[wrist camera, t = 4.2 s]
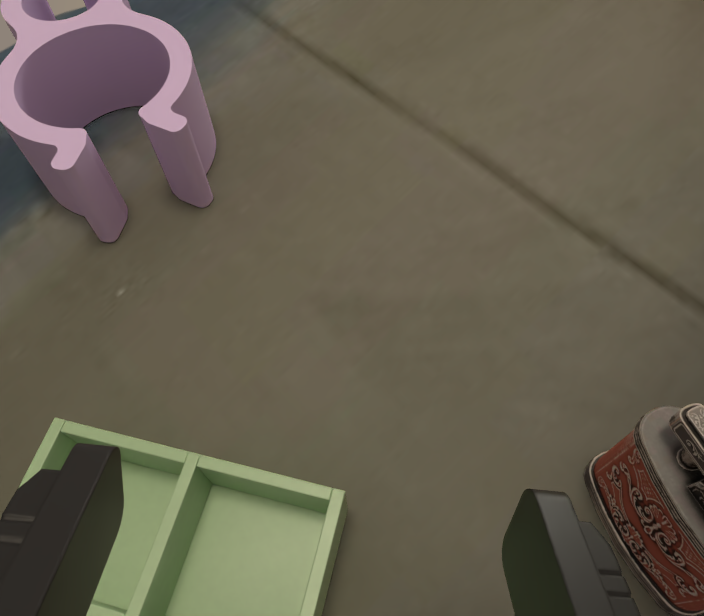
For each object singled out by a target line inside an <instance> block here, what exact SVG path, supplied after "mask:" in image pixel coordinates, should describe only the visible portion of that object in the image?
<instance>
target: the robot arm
mask: <svg viewBox="0 0 704 616" xmlns="http://www.w3.org/2000/svg"><path fill="white" fill-rule="evenodd" d="M123 509H124V492H123V479H122V466H121V454H120V449H119V448H118V447H114V446H104V445H94V444H84V443H77V444H76V445H75V446H74V447H73V448H72V450H71V452H70V453H69V455H68V457H67V459H66V461H65V463H64V465H63V466H62V468H61V470H50V469H41V470H40V471H39V472H37V473H36V474H35V475H34V476H33V477H31V478H30V479H29V480H28V481H27V482H25V483H24V484H23V485H22V486H21V487H20V488H18V489H17V491H16V492H15V494H14V496H13V497H12V499H11V501H10V502H9V504H8V506H7V507H6V509H5V511H4V512H3V514H2V518H1V520H0V616H86V615H87V612H88V609H89V607H90V604H91V602H92V599H93V597H94V594H95V591H96V589H97V586H98V584H99V581H100V578H101V576H102V573H103V571H104V568H105V566H106V563H107V560H108V558H109V555H110V553H111V550H112V547H113V545H114V542H115V540H116V537H117V534H118V532H119V528H120V525H121V521H122V516H123ZM502 561H503V568H504V572H505V576H506V580H507V584H508V588H509V592H510V596H511V600H512V605H513V609H514V613H515V616H641V615H640V612H639V610H638V608H637V606H636V603H635V601H634V599H633V598H631V592H630V589H629V587H628V585H627V583H626V580H625V578H624V577H622V575H621V572H622V571H621V569H620V566H619V564H618V562H617V559H616V557H615V555H614V553H613V550H612V548H611V546H610V544H609V543H608V542H607V541H606V540H605V539H604V537H603V536H602V535H601V534H600V533H599V531H598V530H597V529H596V528H595V527H594V526H593V524H592V523H591V522H583V521H579V520H578V518H577V515H576V513H575V510H574V508H573V505H572V503H571V500H570V498H569V497H568V495H567V494H566V493H564V492H556V491H546V490H536V489H526V490H525V491H524V492H523V494H522V496H521V499H520V501H519V503H518V506H517V508H516V510H515V513H514V515H513V517H512V520H511V522H510V524H509V527H508V529H507V531H506V534H505V536H504V540H503V547H502Z"/></svg>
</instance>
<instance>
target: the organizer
mask: <svg viewBox="0 0 704 616" xmlns="http://www.w3.org/2000/svg"><path fill="white" fill-rule="evenodd" d="M77 443H84V444H94V445H104V446H114V447H118V448H119V449H120V454H121V466H122V479H123V492H124V509H123V516H122V521H121V525H120V528H119V532H118V534H117V537H116V540H115V542H114V545H113V547H112V550H111V553H110V555H109V558H108V560H107V563H106V566H105V568H104V571H103V573H102V576H101V578H100V581H99V584H98V586H97V589H96V591H95V594H94V597H93V599H92V602H91V604H90V607H89V609H88V612H87V615H86V616H322V612H323V608H324V604H325V600H326V596H327V592H328V588H329V584H330V580H331V576H332V572H333V568H334V564H335V560H336V556H337V552H338V548H339V544H340V539H341V535H342V531H343V527H344V523H345V519H346V515H347V511H348V508H347V501H346V494H345V491H343V490H339V489H335V488H333V489H332V488H331V487H327V486H323V485H319V484H315V483H311V482H307V481H303V480H299V479H295V478H291V477H288V476H284V475H280V474H276V473H272V472H268V471H264V470H260V469H256V468H252V467H248V466H244V465H240V464H236V463H232V462H228V461H224V460H221V459H217V458H213V457H209V456H205V455H200V454H197V453H193V452H188V451H185V450H181V449H177V448H173V447H169V446H165V445H161V444H157V443H153V442H149V441H145V440H142V439H138V438H134V437H130V436H126V435H122V434H118V433H114V432H110V431H106V430H102V429H98V428H94V427H90V426H86V425H82V424H78V423H75V422H71V421H66V420H63V419H59V418H54V420H53V422H52V424H51V426H50V428H49V430H48V432H47V434H46V436H45V437H44V439H43V441H42V443H41V445H40V447H39V449H38V451H37V453H36V455H35V457H34V459H33V461H32V463H31V465H30V467H29V468H28V470H27V472H26V474H25V476H24V478H23V480H22V482H21V484H20V486H19V488H20V487H21V486H22V485H23V484H24V483H25V482H27V481H28V480H29V479H30V478H31V477H33V476H34V475H35V474H36V473H37V472H39V471H40V470H41V469H50V470H61V468H62V466H63V465H64V463H65V461H66V459H67V457H68V455H69V453H70V452H71V450H72V448H73V447H74V446H75V445H76V444H77Z"/></svg>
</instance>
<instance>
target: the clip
mask: <svg viewBox="0 0 704 616" xmlns="http://www.w3.org/2000/svg"><path fill="white" fill-rule="evenodd" d="M83 1H84V3H85V5H86V7H87V11H86V12H84V13H82V14H80V15H78V16H75V17H72V18H69V19H65V20H58V21H57V20H56V18H55V16H54V14H53V12H52V10H51V8H50V6H49V4H48V2H47V0H2V2H1V13H2V16H3V18H4V19H5V21H6V23H7V25H8V26H9V28H10V30H11V32H12V33H13V35H14V37H15V39H16V40H17V42H16V45H15V47H14V49H13V50H12V51H11V53H10V54H9V55H8V56H7V57H6V58H5V60H4V61H3V62H2V64H1V65H0V121H1V123H2V124H3V125H4V127H5V128H6V130H7V131H8V133H9V134H10V136H11V137H12V138H13V140H14V141H15V143H16V144H17V146H18V147H19V148H20V150H21V151H22V153H23V154H24V156H25V157H26V159H27V160H28V161H29V163H30V164H31V166H32V167H33V169H34V170H35V172H36V173H37V174H38V176H39V177H40V179H41V180H42V182H43V183H44V184H45V186H46V187H47V189H48V190H49V192H50V193H51V195H52V196H53V197H54V198H55V199H56V200H57V201H58V202H59V203H60V204H61V205H62V206H64V207H65V208H67V209H68V210H70V211H72V212H74V213H76V214H79V215H82V216H85V218H86V219H87V221H88V223H89V224H90V226H91V227H92V229H93V230H94V232H95V233H96V235H97V236H98V238H99V239H100V240H101V241H103V242H109V243H110V242H114V241H115V240H117V239H118V237H119V235H120V233H121V231H122V229H123V227H124V225H125V223H126V221H127V216H128V208H127V206H126V204H125V202H124V200H123V198H122V196H121V194H120V193H119V191H118V189H117V187H116V185H115V183H114V182H113V180H112V178H111V176H110V174H109V172H108V170H107V169H106V167H105V165H104V163H103V161H102V159H101V158H100V156H99V154H98V152H97V150H96V148H95V147H94V145H93V143H92V141H91V139H90V137H89V135H88V134H87V132H86V130H84V129H82V128H83V127H84V126H86V125H87V124H88V123H90V122H91V121H93V120H94V119H96V118H98V117H100V116H102V115H104V114H106V113H109V112H111V111H114V110H118V109H121V108H126V107H132V106H143V107H142V108H141V109H140V110H139V115H140V118H141V120H142V122H143V125H144V127H145V129H146V132H147V134H148V136H149V139H150V141H151V143H152V146H153V148H154V150H155V153H156V155H157V157H158V160H159V162H160V164H161V167H162V169H163V171H164V174H165V176H166V179H167V181H168V183H169V186H170V188H171V190H172V192H173V193H174V194H175V195H176V196H177V197H178V198H179V199H180V200H182V201H185V202H187V203H190V204H192V205H195V206H197V207H200V208H204V207H207V206H208V205H209V204H210V203H211V202H212V200H213V195H212V192H211V189H210V186H209V183H208V180H207V177H206V174H207V172H208V170H209V169H210V167H211V165H212V162H213V159H214V156H215V151H216V137H215V132H214V129H213V125H212V122H211V119H210V115H209V112H208V109H207V105H206V102H205V98H204V95H203V92H202V88H201V85H200V81H199V78H198V75H197V71H196V68H195V65H194V61H193V58H192V54H191V51H190V48H189V46H188V44H187V42H186V40H185V39H184V37H183V36H182V35H181V34H180V33H179V32H178V31H177V30H176V29H175V28H173V27H172V26H171V25H169V24H167V23H165V22H164V21H162V20H159V19H157V18H154V17H151V16H148V15H144V14H140V13H137V12H134V11H132V10H131V7H130V5H129V2H128V0H83Z"/></svg>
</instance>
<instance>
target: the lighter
mask: <svg viewBox="0 0 704 616" xmlns="http://www.w3.org/2000/svg"><path fill="white" fill-rule="evenodd" d="M584 478H585V483H586V486H587V488H588V491H589V493H590V496H591V498H592V501H593V504H594V506H595V509H596V511H597V513H598V515H599V517H600V519H601V521H602V523H603V525H604V527H605V529H606V531H607V533H608V535H609V537H610V539H611V541H612V542H613V544H614V546H615V547H616V549H617V550H618V552H619V553H620V555H621V556H622V558H623V559H624V561H625V562H626V564H627V565H628V567H629V568H630V570H631V571H632V573H633V574H634V575H635V577H636V578H637V579H638V580H639V582H640V583H641V584H642V585H643V587H644V588H645V589H646V590H647V591H648V593H649V594H650V595H651V596H652V597H653V599H654V600H655V601H656V602H657V604H658V605H659V606H660V607H661V608H663V609H664V610H665V611H666V612H668V613H670V614H673V615H675V616H694V615H697V614H701V613H703V612H704V406H703V405H701V404H698V403H694V404H690V405H688V406H685V407H684V408H682V409H681V408H678V407H675V406H661V407H657V408H654V409H652V410H651V411H649V412H648V413H646V414H645V415H644V416H643V417H642V418H641V419H639V421H638V422H637V424H636V425H635V427H634V430H633V431H632V432H631V433H629V434H628V435H627V436H626V437H625V438H623V439H622V440H621V441H620V442H619V443H617V444H616V445H615V446H614V447H613V448H611V449H610V450H609V451H606V452H602V453H601V454H599V455H598V456H596V457H595V458H594V459H592V460H591V461H590V462H589V464H588V465H587V467H586V469H585V473H584Z"/></svg>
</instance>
